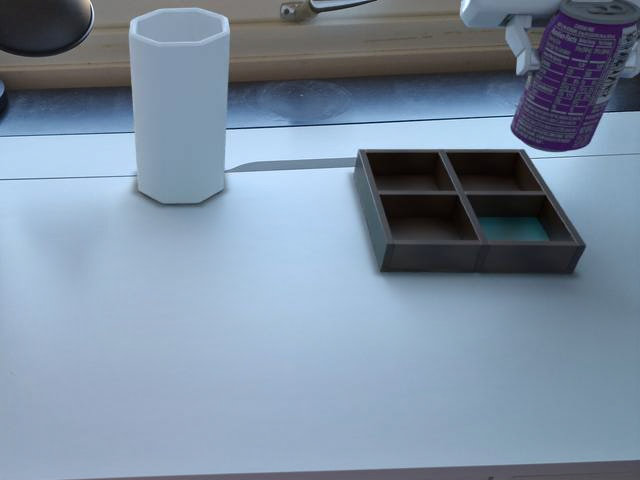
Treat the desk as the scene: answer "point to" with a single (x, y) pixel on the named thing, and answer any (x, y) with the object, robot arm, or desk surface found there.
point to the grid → (463, 212)
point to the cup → (180, 102)
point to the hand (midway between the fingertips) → (577, 74)
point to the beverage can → (575, 74)
